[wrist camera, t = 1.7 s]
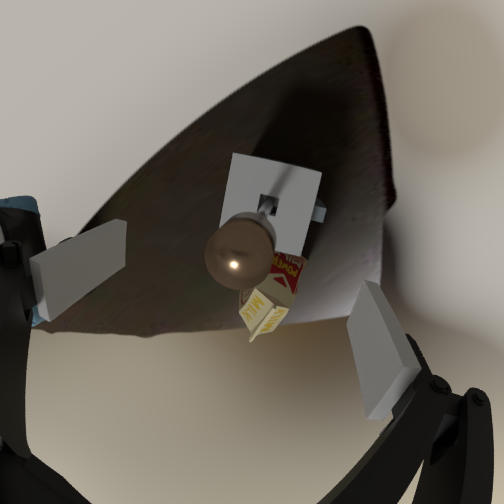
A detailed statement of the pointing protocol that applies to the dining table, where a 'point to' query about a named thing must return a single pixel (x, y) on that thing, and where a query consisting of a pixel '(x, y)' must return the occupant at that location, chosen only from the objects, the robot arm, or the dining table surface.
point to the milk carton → (271, 294)
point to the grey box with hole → (277, 185)
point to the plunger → (243, 247)
